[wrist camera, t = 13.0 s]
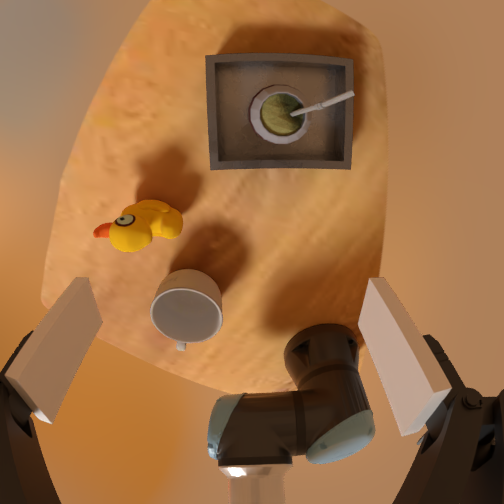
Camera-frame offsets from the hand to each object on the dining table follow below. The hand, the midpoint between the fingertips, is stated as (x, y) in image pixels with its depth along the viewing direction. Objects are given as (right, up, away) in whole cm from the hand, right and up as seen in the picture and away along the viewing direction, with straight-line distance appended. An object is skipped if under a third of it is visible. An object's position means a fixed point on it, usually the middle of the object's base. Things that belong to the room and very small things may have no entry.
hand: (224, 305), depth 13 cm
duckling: (-14, +8, +29) cm, 33 cm away
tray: (+5, +21, +22) cm, 31 cm away
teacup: (-9, -5, +36) cm, 38 cm away
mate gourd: (+5, +21, +22) cm, 30 cm away
